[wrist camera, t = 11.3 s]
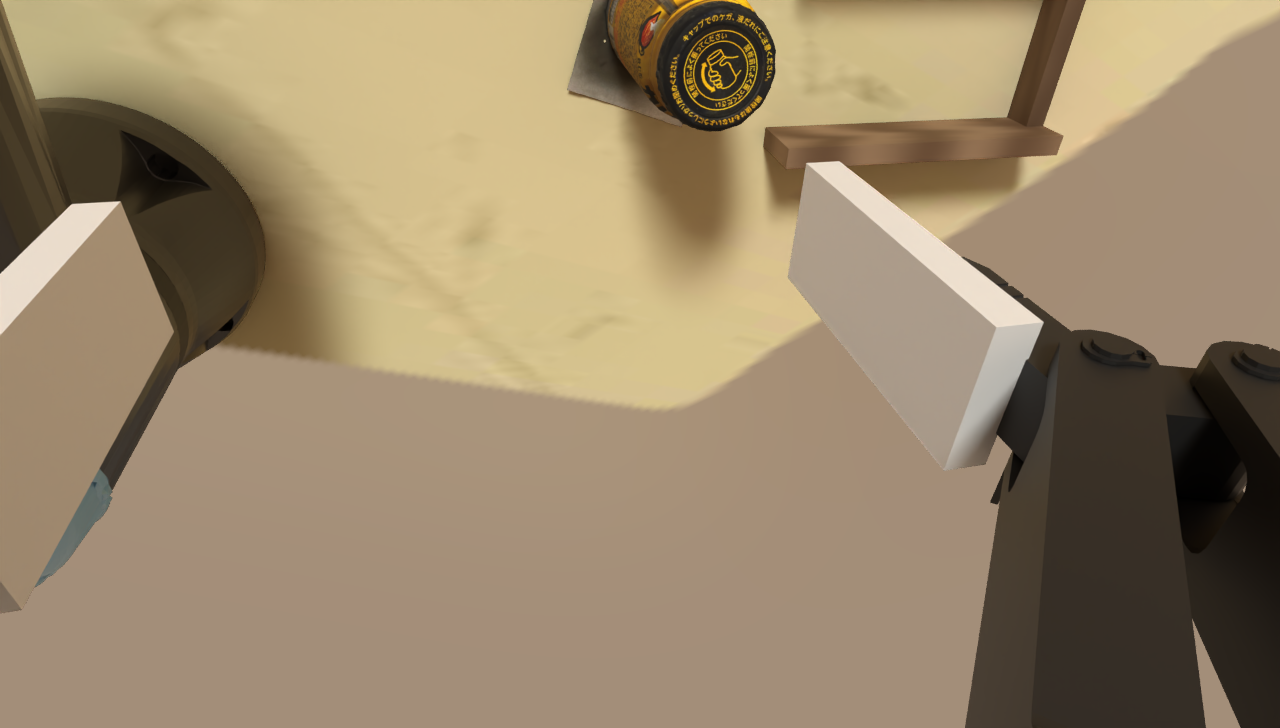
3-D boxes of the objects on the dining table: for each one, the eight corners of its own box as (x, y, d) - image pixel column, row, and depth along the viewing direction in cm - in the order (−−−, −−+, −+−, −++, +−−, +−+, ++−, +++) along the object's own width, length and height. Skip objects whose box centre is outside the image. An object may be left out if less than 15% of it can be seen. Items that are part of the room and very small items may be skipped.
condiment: (738, -22, 40) (825, 19, 30) (680, 126, 44) (741, 203, 34) (614, -75, 37) (667, -48, 28) (566, 88, 41) (596, 160, 32)
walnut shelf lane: (763, 146, 46) (785, 168, 42) (794, -107, 38) (824, -103, 35) (1017, 134, 49) (1056, 154, 45) (1094, -102, 41) (1147, -98, 38)
